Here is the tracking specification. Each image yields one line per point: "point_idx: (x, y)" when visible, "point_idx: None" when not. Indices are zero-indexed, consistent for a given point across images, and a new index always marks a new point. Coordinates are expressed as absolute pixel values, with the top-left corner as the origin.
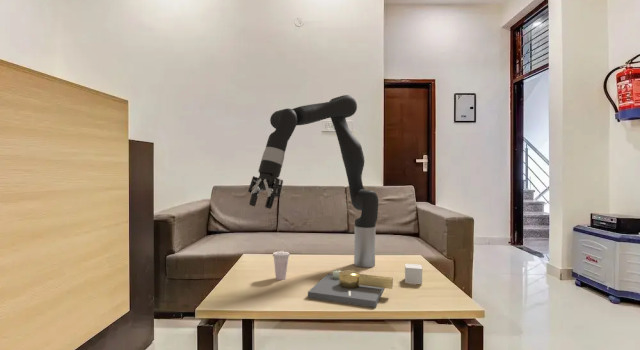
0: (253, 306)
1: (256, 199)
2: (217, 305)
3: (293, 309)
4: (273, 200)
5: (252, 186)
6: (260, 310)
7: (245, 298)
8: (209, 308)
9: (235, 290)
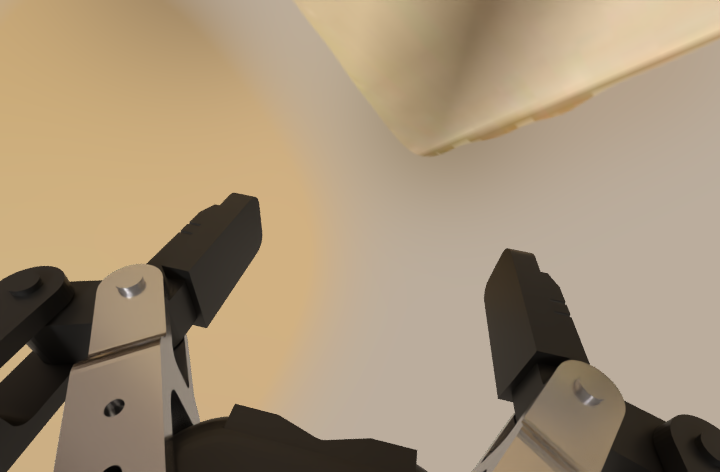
0: (520, 90)
1: (216, 246)
2: (424, 130)
3: (684, 38)
4: (580, 347)
5: (34, 421)
6: (556, 101)
7: (458, 56)
8: (422, 148)
9: (376, 19)
